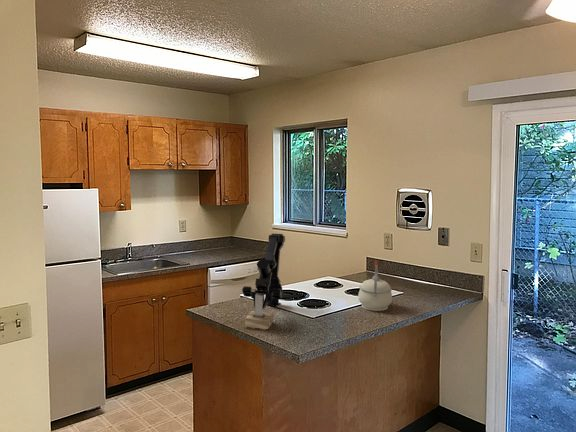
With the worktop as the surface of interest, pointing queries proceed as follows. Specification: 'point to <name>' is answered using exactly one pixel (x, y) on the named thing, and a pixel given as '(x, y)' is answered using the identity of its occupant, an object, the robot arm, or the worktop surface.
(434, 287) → the worktop surface
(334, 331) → the worktop surface
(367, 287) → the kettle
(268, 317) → the socket block
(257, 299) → the square bit
